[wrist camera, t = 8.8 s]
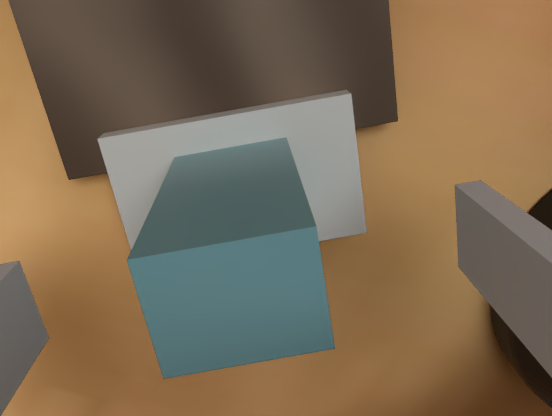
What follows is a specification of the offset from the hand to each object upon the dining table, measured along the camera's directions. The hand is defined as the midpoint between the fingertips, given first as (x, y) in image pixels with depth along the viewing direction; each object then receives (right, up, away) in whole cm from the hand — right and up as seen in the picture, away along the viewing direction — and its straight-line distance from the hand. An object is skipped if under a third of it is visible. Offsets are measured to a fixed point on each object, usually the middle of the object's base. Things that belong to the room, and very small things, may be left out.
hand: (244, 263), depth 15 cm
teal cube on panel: (-1, +3, +6) cm, 7 cm away
